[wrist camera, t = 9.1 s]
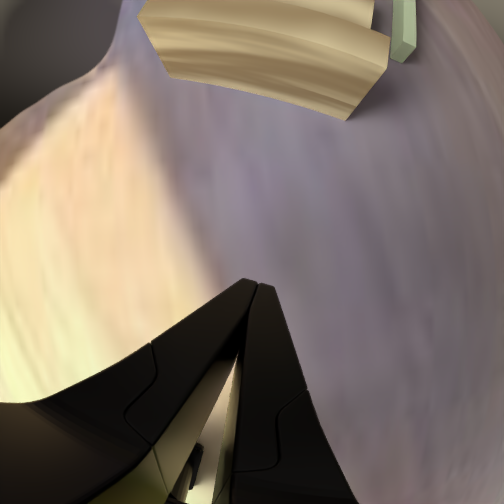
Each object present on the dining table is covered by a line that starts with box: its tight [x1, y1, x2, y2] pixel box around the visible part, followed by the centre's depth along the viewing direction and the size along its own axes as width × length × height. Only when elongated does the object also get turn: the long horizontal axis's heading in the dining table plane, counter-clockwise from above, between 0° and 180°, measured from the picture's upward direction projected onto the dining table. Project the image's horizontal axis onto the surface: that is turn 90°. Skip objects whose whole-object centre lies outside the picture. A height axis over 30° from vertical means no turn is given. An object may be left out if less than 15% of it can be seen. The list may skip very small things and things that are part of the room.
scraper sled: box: [137, 0, 390, 121], centre depth 16 cm, size 13×14×8 cm
